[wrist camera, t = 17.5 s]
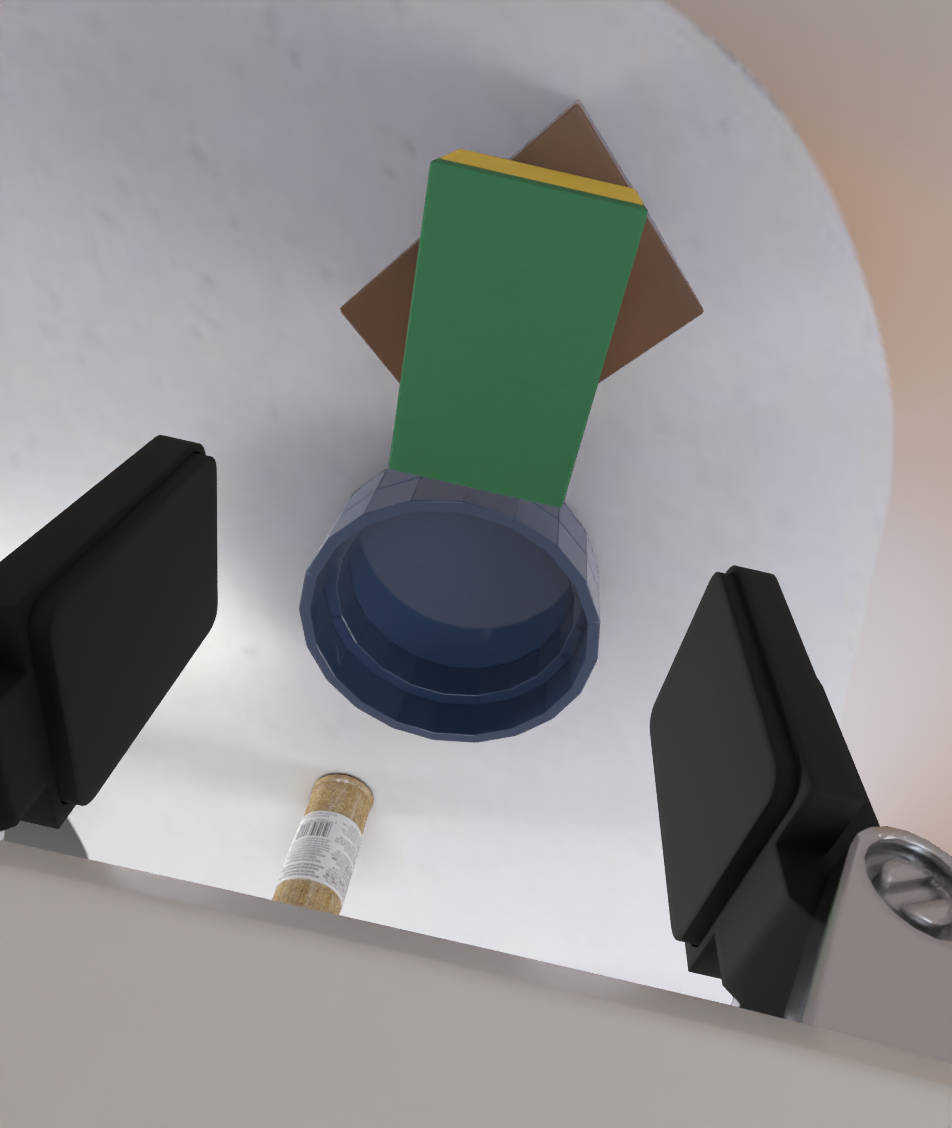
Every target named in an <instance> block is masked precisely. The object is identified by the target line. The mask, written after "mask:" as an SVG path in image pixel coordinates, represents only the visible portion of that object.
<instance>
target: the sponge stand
mask: <svg viewBox="0 0 952 1128" xmlns="http://www.w3.org/2000/svg"><path fill="white" fill-rule="evenodd" d="M509 160H512V161H516V162H520V163H525V164H529V165H533V166H538V167H542V168H546V169H551V170H555V171H559V172H564V173H568V174H573V175H577V176H581V177H586V178H590V179H594V180H599V181H603V182H607V183H612V184H616V185H620V186H625V187H629V188H633V187H632V186H631V184H630V182H629V181H628V179H627V177H626V176H625V174H624V172H623V171H622V169H621V167H620V166H619V164H618V162H617V161H616V159H615V157H614V156H613V154H612V152H611V151H610V149H609V147H608V146H607V144H606V142H605V141H604V139H603V137H602V136H601V134H600V132H599V131H598V129H597V128H596V126H595V124H594V123H593V121H592V119H591V118H590V116H589V114H588V113H587V111H586V109H585V108H584V106H583V104H582V103H581V101H580V100H577V101H575V102H574V103H573V104H572V105H571V106H570V107H569V108H567V109H566V110H565V111H564V112H563V113H562V114H560V115H559V116H558V117H557V118H556V119H555V120H554V121H552V122H551V123H550V124H549V125H548V126H547V127H546V128H544V129H543V130H542V131H541V132H540V133H539V134H538V135H536V136H535V137H534V138H533V139H532V140H531V141H529V142H528V143H527V144H526V145H525V146H524V147H523V148H521V149H520V150H519V151H518V152H517V153H516V154H515V155H513V156H512V157H511V158H510V159H509ZM419 242H420V237H419V238H418V239H417V240H416V241H415V242H414V243H413V244H412V245H410V246H409V247H408V248H407V249H406V250H405V251H404V252H403V253H401V254H400V255H399V256H398V257H397V258H396V259H395V260H394V261H392V262H391V263H390V264H389V265H388V266H387V267H386V268H385V269H383V270H382V271H381V272H380V273H379V274H378V275H377V276H376V277H374V278H373V279H372V280H371V281H370V282H369V283H368V284H367V285H365V286H364V287H363V288H362V289H361V290H360V291H359V292H358V293H356V294H355V295H354V296H353V297H352V298H351V299H350V300H349V301H347V302H346V303H345V304H344V305H343V306H342V307H341V308H340V311H341V313H342V314H343V315H344V316H345V317H346V319H347V320H348V321H349V322H350V324H351V325H352V326H353V327H354V328H355V330H356V331H357V332H358V333H359V335H360V336H361V337H362V338H363V339H364V341H365V342H366V343H367V344H368V345H369V347H370V348H371V349H372V350H373V352H374V353H375V354H376V355H377V356H378V358H379V359H380V360H381V361H382V362H383V364H384V365H385V366H386V367H387V369H388V370H389V371H390V372H391V373H392V375H393V376H394V377H395V378H396V380H397V381H398V382H399V383H400V380H401V373H402V366H403V359H404V351H405V344H406V337H407V330H408V322H409V315H410V308H411V301H412V293H413V286H414V279H415V271H416V264H417V257H418V250H419ZM703 312H704V311H703V308H702V306H701V304H700V303H699V301H698V299H697V297H696V295H695V294H694V292H693V290H692V288H691V287H690V285H689V283H688V281H687V280H686V278H685V276H684V274H683V273H682V271H681V269H680V267H679V266H678V264H677V262H676V260H675V259H674V257H673V255H672V253H671V251H670V250H669V248H668V246H667V244H666V243H665V241H664V239H663V237H662V236H661V234H660V232H659V230H658V229H657V227H656V225H655V224H654V222H653V220H652V219H651V217H650V215H649V214H648V215H647V218H646V222H645V225H644V229H643V232H642V235H641V239H640V242H639V246H638V249H637V252H636V256H635V259H634V263H633V266H632V270H631V273H630V276H629V280H628V283H627V287H626V290H625V293H624V297H623V300H622V304H621V307H620V310H619V314H618V317H617V321H616V324H615V328H614V331H613V334H612V338H611V341H610V345H609V348H608V351H607V355H606V358H605V362H604V365H603V368H602V372H601V375H600V379H599V382H598V383H600V382H601V381H603V380H604V379H606V378H607V377H609V376H610V375H612V374H613V373H615V372H616V371H618V370H619V369H621V368H622V367H624V366H625V365H627V364H628V363H629V362H631V361H632V360H634V359H635V358H637V357H638V356H640V355H641V354H643V353H644V352H646V351H647V350H649V349H650V348H652V347H653V346H655V345H656V344H658V343H659V342H661V341H662V340H664V339H665V338H667V337H668V336H670V335H671V334H673V333H674V332H676V331H677V330H679V329H680V328H682V327H683V326H685V325H686V324H688V323H689V322H691V321H692V320H694V319H695V318H697V317H698V316H699V315H701V314H702V313H703Z"/></svg>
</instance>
